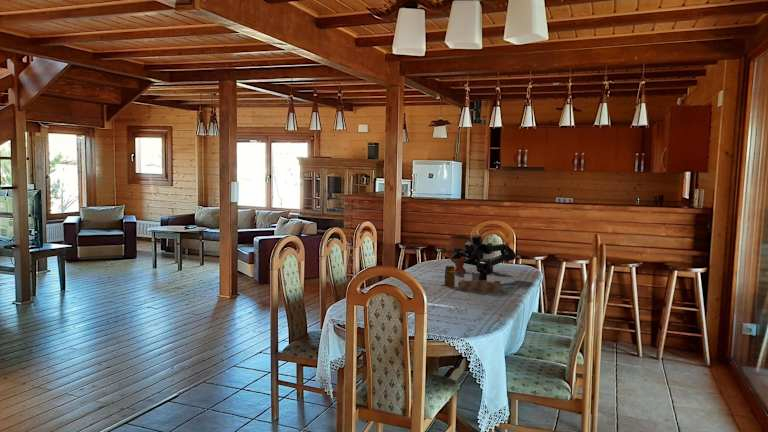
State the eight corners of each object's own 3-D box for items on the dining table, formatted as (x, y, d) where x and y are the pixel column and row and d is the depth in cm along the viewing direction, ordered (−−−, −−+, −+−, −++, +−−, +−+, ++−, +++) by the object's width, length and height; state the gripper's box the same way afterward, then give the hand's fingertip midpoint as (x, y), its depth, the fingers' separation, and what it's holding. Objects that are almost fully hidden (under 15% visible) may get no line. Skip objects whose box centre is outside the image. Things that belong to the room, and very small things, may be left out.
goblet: (452, 275, 384) (452, 238, 382) (441, 270, 403) (442, 234, 401) (478, 274, 389) (479, 237, 387) (466, 269, 408) (467, 234, 406)
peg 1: (464, 282, 338) (464, 274, 338) (464, 280, 342) (464, 273, 342) (471, 282, 337) (471, 275, 337) (472, 281, 341) (472, 273, 341)
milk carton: (488, 273, 394) (489, 244, 392) (477, 271, 400) (477, 242, 398) (494, 271, 401) (495, 243, 399) (483, 269, 406) (484, 241, 405)
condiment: (457, 286, 348) (458, 266, 347) (446, 287, 344) (447, 267, 343) (449, 284, 354) (450, 264, 353) (439, 285, 350) (439, 266, 349)
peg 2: (486, 283, 335) (486, 275, 335) (486, 281, 340) (487, 274, 339) (494, 283, 334) (494, 276, 334) (494, 282, 339) (494, 274, 338)
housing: (458, 290, 337) (458, 281, 336) (459, 287, 345) (459, 278, 345) (499, 292, 332) (500, 283, 332) (499, 289, 341) (500, 281, 340)
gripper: (463, 236, 357) (446, 243, 348) (487, 245, 344) (470, 252, 334) (463, 253, 361) (445, 260, 351) (486, 262, 348) (469, 269, 338)
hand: (457, 260), depth 344 cm, fingers open, 9 cm apart
